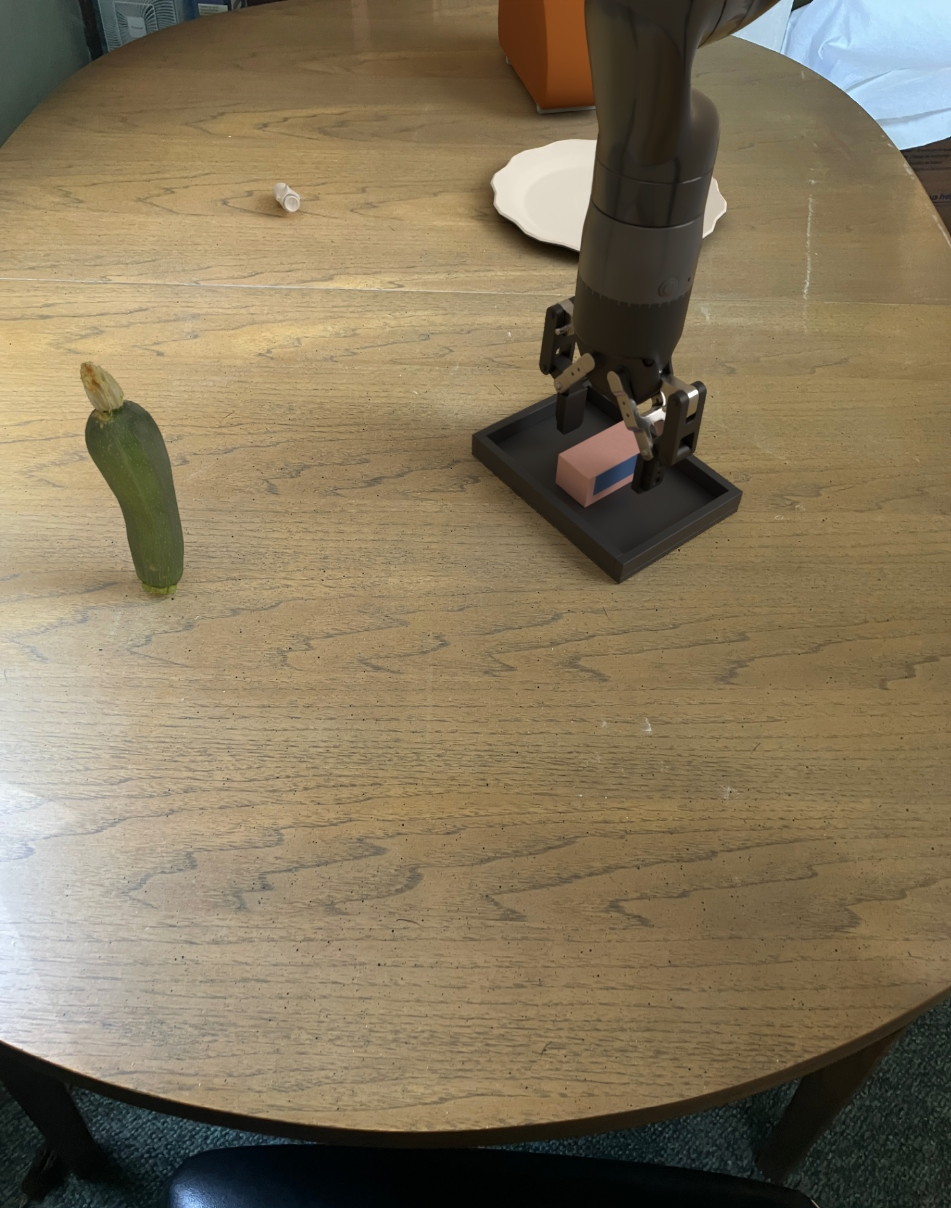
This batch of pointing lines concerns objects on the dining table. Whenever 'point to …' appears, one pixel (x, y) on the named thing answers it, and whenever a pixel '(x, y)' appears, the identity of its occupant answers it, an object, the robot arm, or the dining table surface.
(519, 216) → the plate
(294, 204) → the small white plastic part
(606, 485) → the eraser
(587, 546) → the tray
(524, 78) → the alarm clock
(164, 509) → the vegetable
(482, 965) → the dining table surface
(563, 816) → the dining table surface
